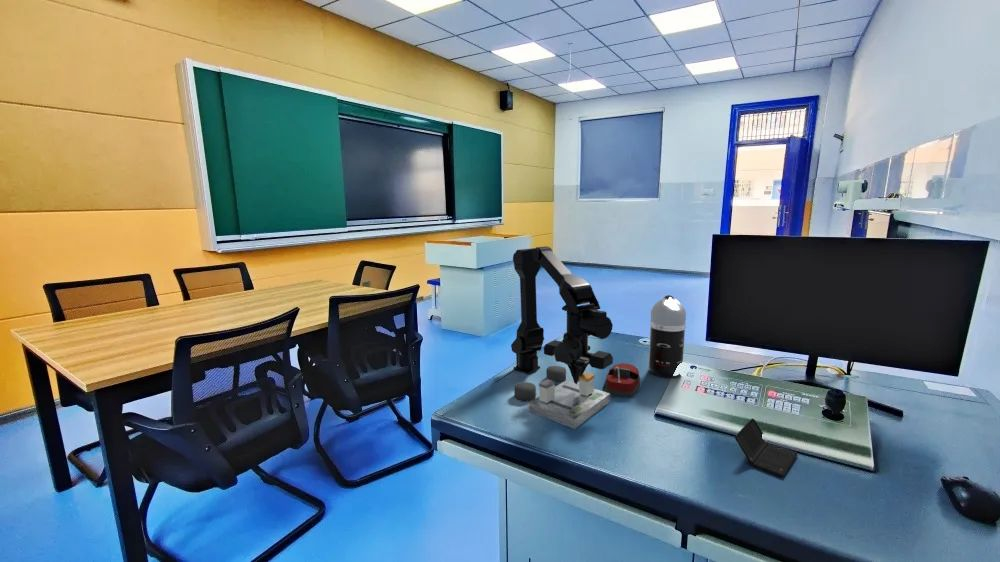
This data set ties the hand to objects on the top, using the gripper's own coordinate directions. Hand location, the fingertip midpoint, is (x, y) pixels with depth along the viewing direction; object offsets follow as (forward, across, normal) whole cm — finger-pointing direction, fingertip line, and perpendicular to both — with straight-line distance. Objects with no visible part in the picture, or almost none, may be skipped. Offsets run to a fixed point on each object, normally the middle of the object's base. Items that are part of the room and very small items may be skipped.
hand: (576, 383), depth 117 cm
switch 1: (+2, -3, -10) cm, 11 cm away
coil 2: (+5, -12, +8) cm, 15 cm away
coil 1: (+5, -12, -8) cm, 15 cm away
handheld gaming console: (+5, +45, +2) cm, 45 cm away
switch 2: (+2, +3, 0) cm, 4 cm away
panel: (+5, +1, -5) cm, 7 cm away
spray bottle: (+5, +12, +33) cm, 36 cm away
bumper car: (+5, +6, +15) cm, 17 cm away
